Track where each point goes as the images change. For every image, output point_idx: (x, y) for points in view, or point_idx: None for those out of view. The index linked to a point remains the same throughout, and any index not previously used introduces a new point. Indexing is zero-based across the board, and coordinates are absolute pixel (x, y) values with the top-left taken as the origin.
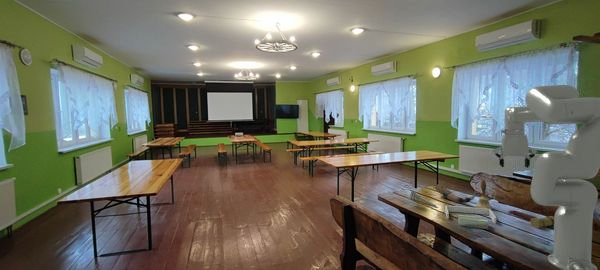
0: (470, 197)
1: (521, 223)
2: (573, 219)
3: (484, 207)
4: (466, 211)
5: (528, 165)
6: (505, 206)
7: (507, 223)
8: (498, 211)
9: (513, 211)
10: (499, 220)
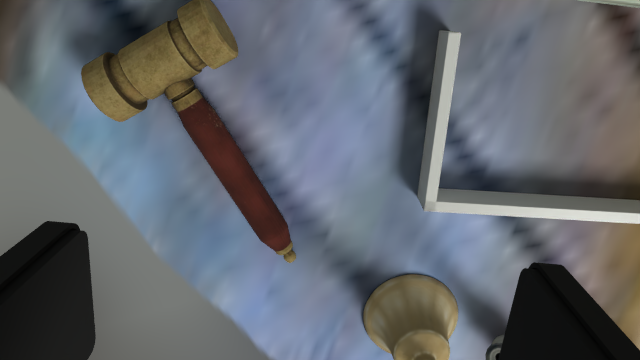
0: None
1: (283, 71)
2: None
3: (421, 287)
4: (561, 199)
5: (20, 242)
6: (281, 349)
7: (367, 51)
8: (349, 257)
9: (279, 227)
10: (398, 96)
